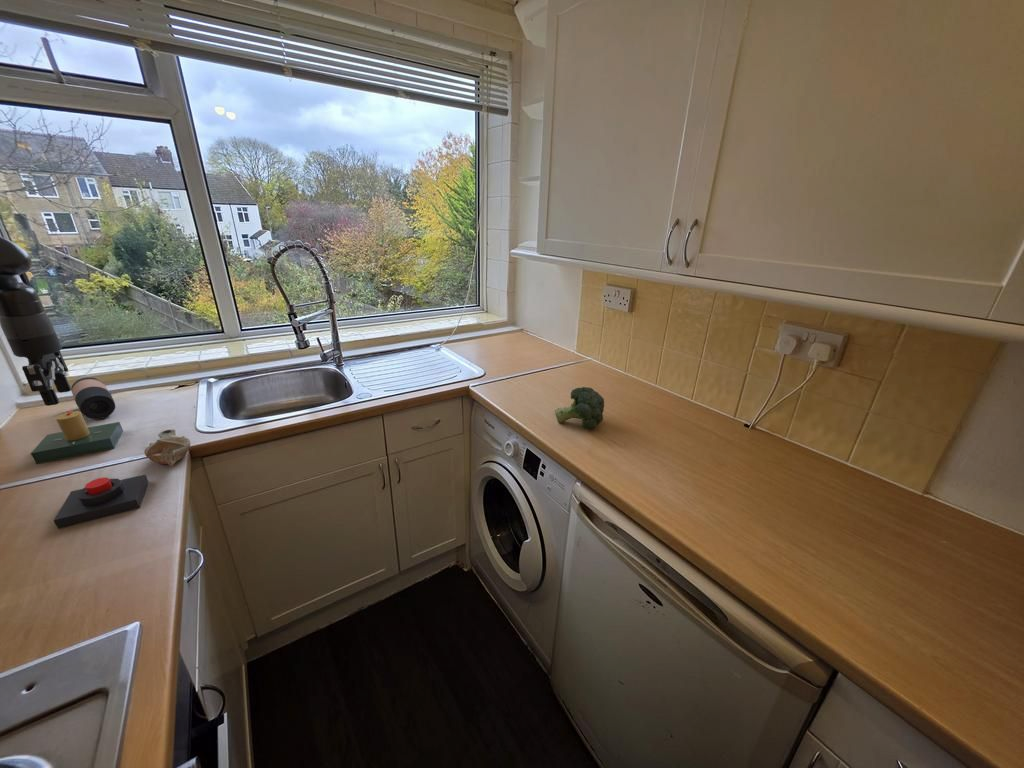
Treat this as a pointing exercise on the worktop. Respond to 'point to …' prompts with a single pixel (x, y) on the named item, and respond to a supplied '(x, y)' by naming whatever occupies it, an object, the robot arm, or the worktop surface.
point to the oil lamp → (168, 448)
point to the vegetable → (583, 408)
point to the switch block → (102, 502)
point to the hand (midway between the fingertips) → (59, 397)
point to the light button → (98, 486)
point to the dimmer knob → (73, 425)
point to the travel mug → (93, 398)
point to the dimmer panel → (77, 443)
